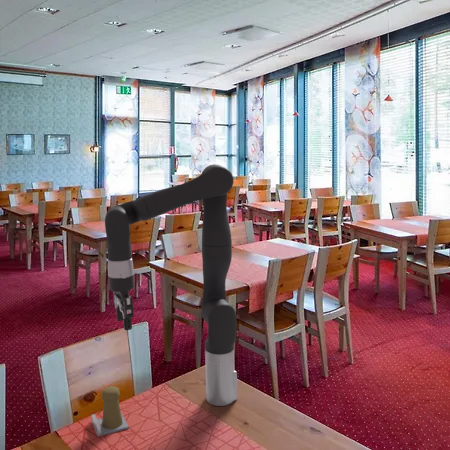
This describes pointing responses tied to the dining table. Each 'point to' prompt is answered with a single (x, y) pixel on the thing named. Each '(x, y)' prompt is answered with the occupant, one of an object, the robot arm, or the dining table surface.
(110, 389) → the cork
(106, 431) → the slate shelf board
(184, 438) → the dining table surface
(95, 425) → the rail
